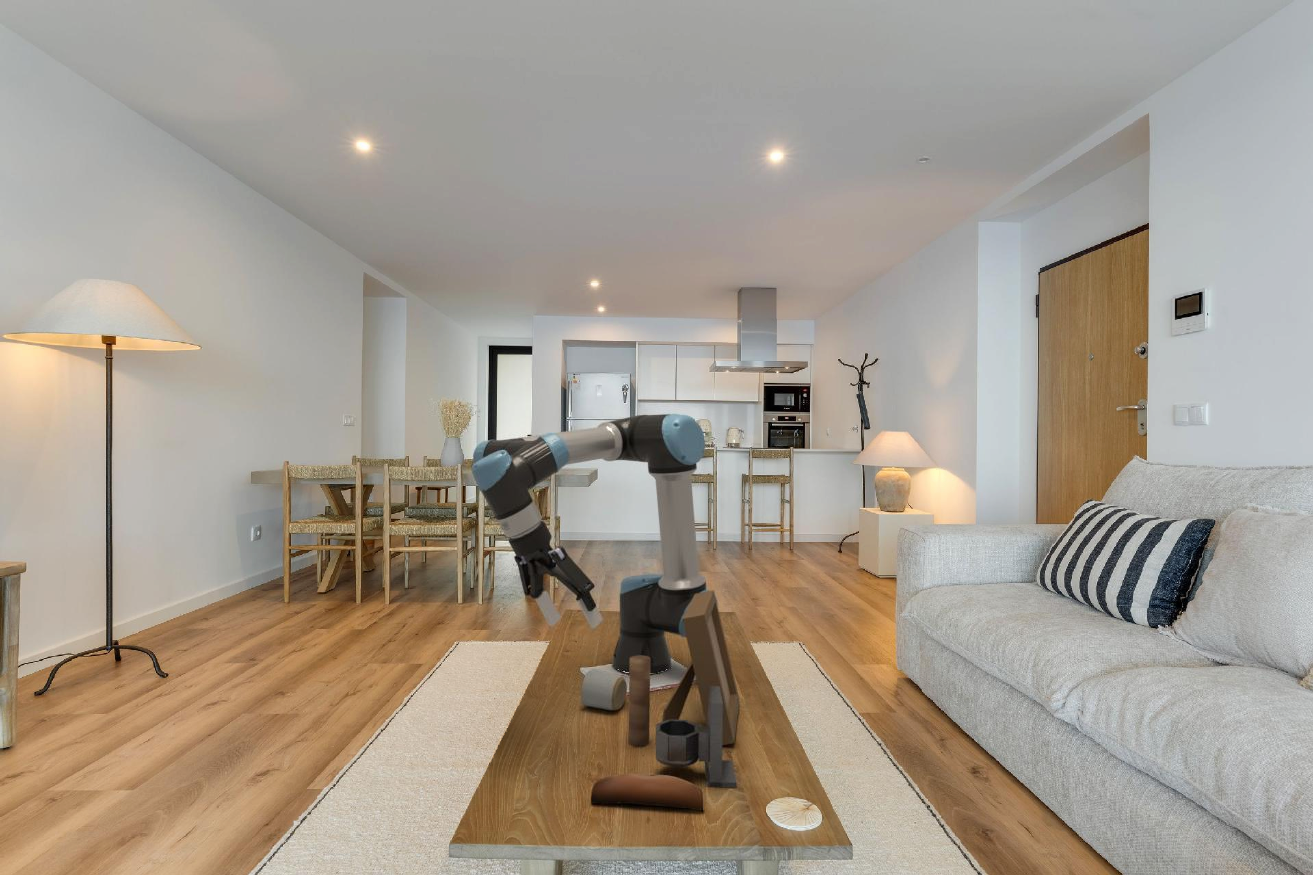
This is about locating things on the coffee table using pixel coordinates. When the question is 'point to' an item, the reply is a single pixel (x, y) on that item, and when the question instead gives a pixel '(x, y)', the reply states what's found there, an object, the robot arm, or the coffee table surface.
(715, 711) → the bracket
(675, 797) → the sunglasses case
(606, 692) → the ceramic mug
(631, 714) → the brown wooden dowel
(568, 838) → the coffee table surface
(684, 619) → the photo frame
